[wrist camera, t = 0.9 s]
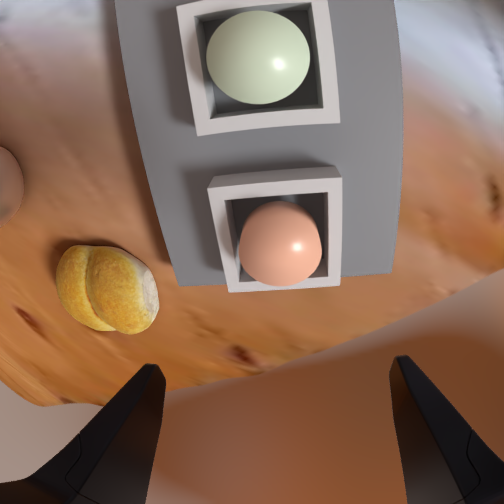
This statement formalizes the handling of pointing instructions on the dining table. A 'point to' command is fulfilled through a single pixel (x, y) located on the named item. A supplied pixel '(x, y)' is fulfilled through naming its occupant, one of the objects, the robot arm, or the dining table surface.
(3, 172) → the plastic bottle
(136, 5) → the panel
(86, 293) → the bread roll
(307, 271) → the terracotta button
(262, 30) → the sage button
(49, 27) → the dining table surface
